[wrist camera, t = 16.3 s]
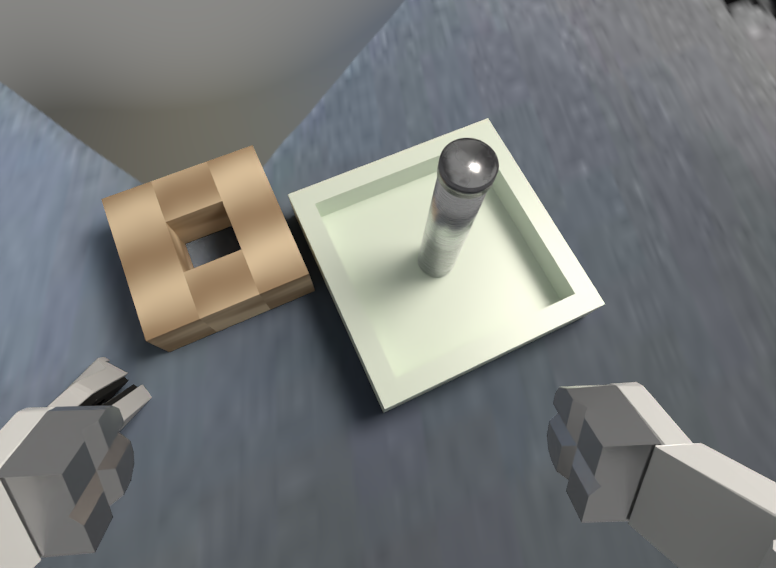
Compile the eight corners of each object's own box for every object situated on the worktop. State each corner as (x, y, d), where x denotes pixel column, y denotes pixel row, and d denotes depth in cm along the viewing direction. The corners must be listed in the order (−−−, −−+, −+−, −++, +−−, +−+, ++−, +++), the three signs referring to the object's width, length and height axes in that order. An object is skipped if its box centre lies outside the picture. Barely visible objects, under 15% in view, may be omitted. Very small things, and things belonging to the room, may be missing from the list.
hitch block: (126, 222, 40) (101, 199, 36) (263, 172, 42) (252, 145, 38) (169, 352, 37) (146, 341, 33) (315, 290, 39) (309, 273, 35)
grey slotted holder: (108, 352, 36) (62, 358, 27) (157, 392, 37) (130, 411, 28) (-88, 547, 32) (-227, 636, 22) (-27, 587, 33) (-136, 691, 23)
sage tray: (294, 215, 41) (288, 194, 37) (479, 143, 44) (488, 118, 40) (383, 413, 36) (384, 409, 32) (584, 316, 39) (604, 303, 35)
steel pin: (409, 251, 39) (428, 150, 26) (444, 236, 39) (480, 129, 26) (427, 285, 38) (456, 198, 25) (462, 269, 39) (509, 176, 25)
